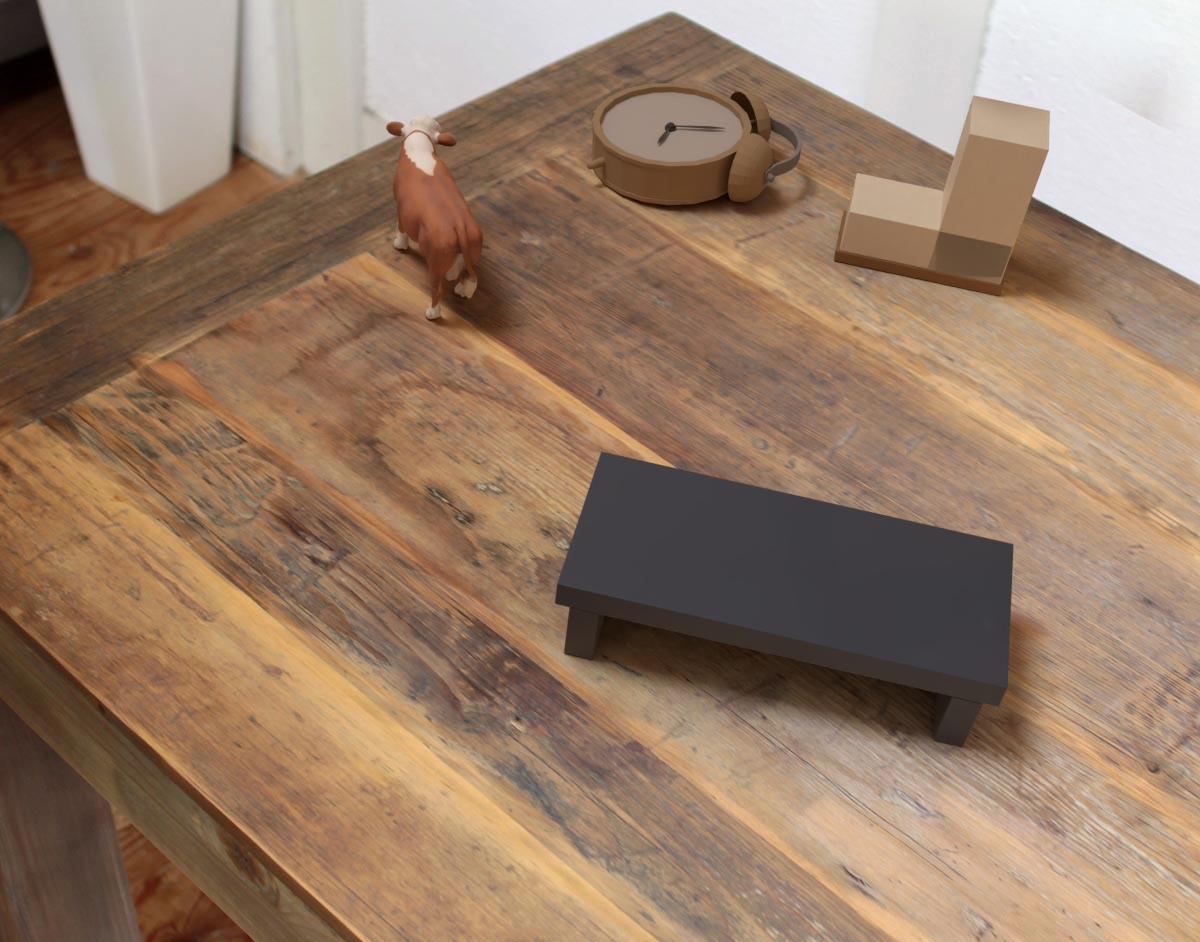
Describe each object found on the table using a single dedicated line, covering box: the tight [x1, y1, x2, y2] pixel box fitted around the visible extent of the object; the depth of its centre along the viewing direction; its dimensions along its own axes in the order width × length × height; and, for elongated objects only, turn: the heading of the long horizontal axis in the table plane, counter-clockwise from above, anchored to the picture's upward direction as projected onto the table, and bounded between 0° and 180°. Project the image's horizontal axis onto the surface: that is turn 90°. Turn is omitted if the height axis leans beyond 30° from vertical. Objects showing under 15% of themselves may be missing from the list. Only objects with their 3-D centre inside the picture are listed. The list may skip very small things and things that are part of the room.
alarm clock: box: [586, 82, 803, 206], centre depth 106 cm, size 11×5×15 cm
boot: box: [833, 94, 1051, 297], centre depth 98 cm, size 11×5×11 cm, turn 77°
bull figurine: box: [385, 114, 484, 320], centre depth 93 cm, size 4×13×8 cm, turn 16°
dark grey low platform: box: [554, 451, 1014, 748], centre depth 76 cm, size 22×10×5 cm, turn 77°
